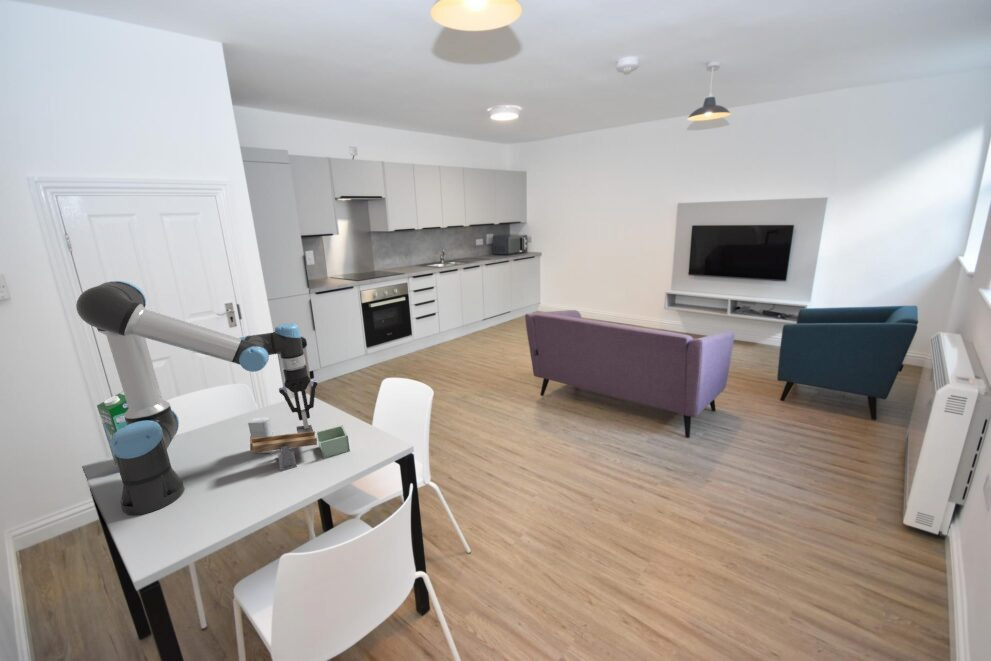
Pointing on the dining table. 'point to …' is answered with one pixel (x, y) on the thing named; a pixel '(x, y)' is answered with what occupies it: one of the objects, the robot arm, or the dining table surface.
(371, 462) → the dining table surface
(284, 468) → the fulcrum
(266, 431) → the skincare box
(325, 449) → the bin
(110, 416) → the milk carton
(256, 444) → the lever
